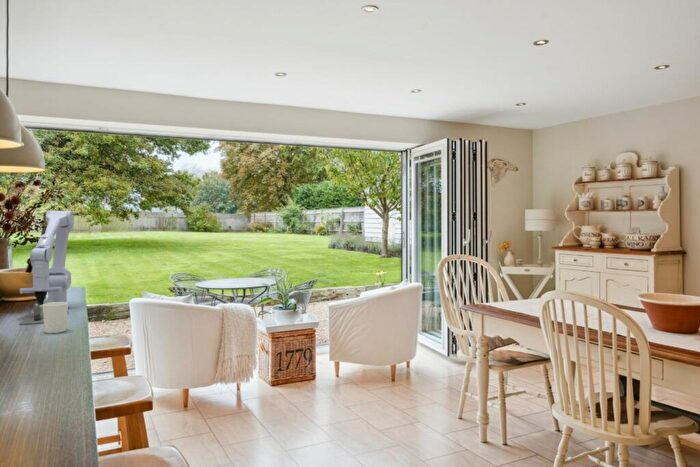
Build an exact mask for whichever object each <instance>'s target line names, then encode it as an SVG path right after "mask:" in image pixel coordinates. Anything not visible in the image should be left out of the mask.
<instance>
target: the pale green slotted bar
mask: <svg viewBox="0 0 700 467" xmlns="http://www.w3.org/2000/svg"><path fill="white" fill-rule="evenodd" d="M46 303H53V301H48V300H47V301H46V302H43V304H46ZM43 304H42V305H40V319H41V318H43Z"/></svg>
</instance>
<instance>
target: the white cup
mask: <svg viewBox="0 0 700 467" xmlns="http://www.w3.org/2000/svg"><path fill="white" fill-rule="evenodd" d="M45 303H46V302H45ZM68 306H69V303H68V301H67V302H53V303H46V304H44V303H43V311H42V313H43V317H44V324H43V325H44V333H45V334H58V333H63V332H66V331H67V324H68V313H69V311H68V310H69V308H68Z"/></svg>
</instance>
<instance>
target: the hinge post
mask: <svg viewBox="0 0 700 467" xmlns="http://www.w3.org/2000/svg"><path fill="white" fill-rule="evenodd" d="M33 313H34V321H39V320H40V304H39V303H38V302H37V303H33Z"/></svg>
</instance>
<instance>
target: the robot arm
mask: <svg viewBox="0 0 700 467" xmlns="http://www.w3.org/2000/svg"><path fill="white" fill-rule="evenodd" d="M45 221H46V224H47V225H46V228H45V232H44V234H42V235H40V236H39V239H38V241H37V243H36V246H35V247H34V248H33V249H32V248H31V250H30V252H29V259H30V265H31V267H32V287H22V288H21V287H20V289H19V294H21V295H22V294H34V297H35V299H36V300H37V303H39V304H40V305H42V304H44V303H45V302H44V301H45V299H46V296H47V302H48V301H53V302H67V303H68V297H67V296H68V292H67V290H68V289H69V288H70V287H71V284H72V273H71V272H70V270H69V269H67V268H66V259H67V257H66V256H67V250H68V242H69V241H68V240H69V235H70V234H69V233H70V232H72V231H73V228H74V224H75V216H74V213H73V210H72V211H71V210H48V211H47V212H46V213H45ZM53 248H54V249H53ZM52 256H53V257H52ZM51 260H52V265H51V267H50V262H51ZM69 308H70V305H68V309H69Z"/></svg>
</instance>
